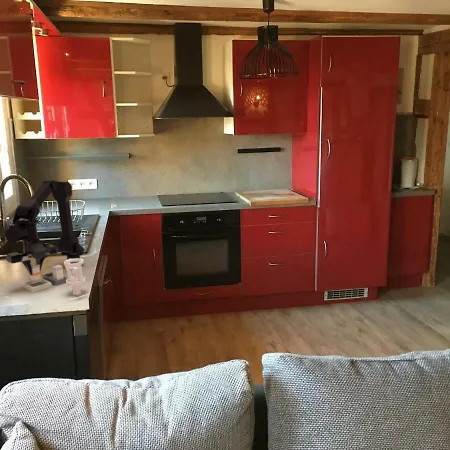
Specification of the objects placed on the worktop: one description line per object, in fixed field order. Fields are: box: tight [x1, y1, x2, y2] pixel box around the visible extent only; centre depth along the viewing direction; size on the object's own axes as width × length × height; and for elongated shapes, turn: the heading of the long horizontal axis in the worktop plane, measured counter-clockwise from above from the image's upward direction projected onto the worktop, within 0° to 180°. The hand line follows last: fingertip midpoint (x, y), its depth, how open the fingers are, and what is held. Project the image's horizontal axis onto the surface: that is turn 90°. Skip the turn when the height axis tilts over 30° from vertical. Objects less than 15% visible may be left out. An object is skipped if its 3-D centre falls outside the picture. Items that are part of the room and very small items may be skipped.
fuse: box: [51, 264, 65, 280], centre depth 204 cm, size 4×3×7 cm
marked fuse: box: [29, 262, 43, 284], centre depth 200 cm, size 4×3×7 cm
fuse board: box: [41, 271, 68, 287], centre depth 207 cm, size 12×5×3 cm, turn 45°
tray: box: [20, 277, 53, 293], centre depth 201 cm, size 10×8×2 cm
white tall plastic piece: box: [63, 258, 86, 298], centre depth 190 cm, size 7×7×15 cm
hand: (35, 274), depth 200 cm, fingers closed on marked fuse, 3 cm apart
